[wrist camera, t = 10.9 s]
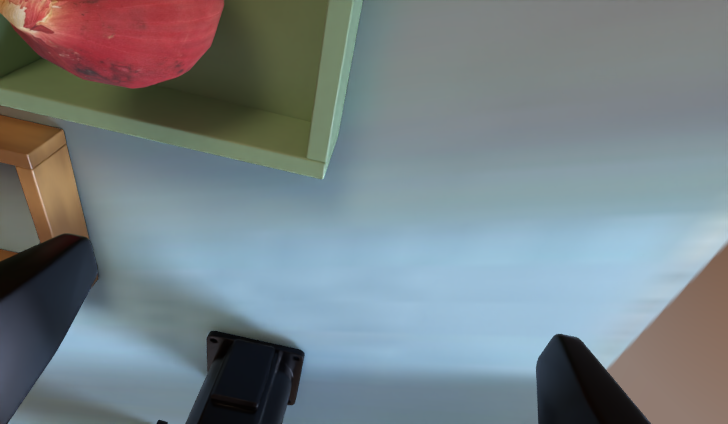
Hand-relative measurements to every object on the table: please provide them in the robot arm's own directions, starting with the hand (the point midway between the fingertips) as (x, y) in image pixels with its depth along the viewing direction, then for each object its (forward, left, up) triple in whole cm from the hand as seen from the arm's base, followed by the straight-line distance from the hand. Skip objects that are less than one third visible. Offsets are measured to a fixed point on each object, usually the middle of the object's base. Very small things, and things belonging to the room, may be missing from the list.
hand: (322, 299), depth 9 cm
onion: (+2, +8, -12) cm, 14 cm away
